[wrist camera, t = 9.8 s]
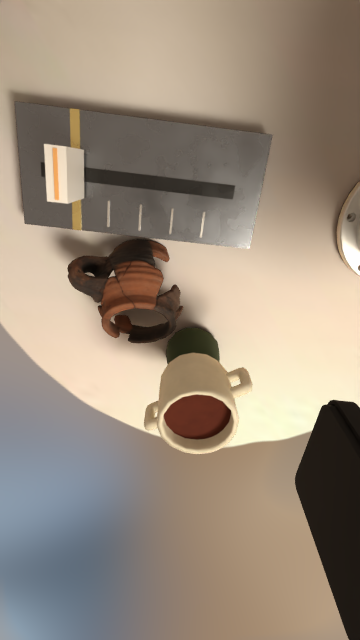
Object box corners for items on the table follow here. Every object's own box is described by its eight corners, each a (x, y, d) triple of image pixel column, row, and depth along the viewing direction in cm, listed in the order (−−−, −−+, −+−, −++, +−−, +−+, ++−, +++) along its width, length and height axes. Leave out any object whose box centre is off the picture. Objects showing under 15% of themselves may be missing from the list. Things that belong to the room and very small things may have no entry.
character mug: (165, 386, 42) (160, 471, 30) (138, 342, 40) (121, 417, 28) (245, 353, 40) (272, 431, 28) (222, 305, 38) (242, 368, 26)
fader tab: (83, 149, 29) (65, 146, 24) (84, 198, 30) (67, 203, 26) (65, 147, 29) (43, 143, 24) (66, 196, 30) (46, 201, 26)
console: (267, 136, 30) (273, 134, 29) (245, 244, 35) (249, 249, 33) (24, 105, 29) (13, 100, 27) (33, 220, 34) (24, 223, 32)
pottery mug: (195, 248, 35) (201, 310, 31) (160, 298, 42) (161, 355, 38) (81, 209, 31) (69, 275, 26) (63, 273, 38) (50, 334, 33)
